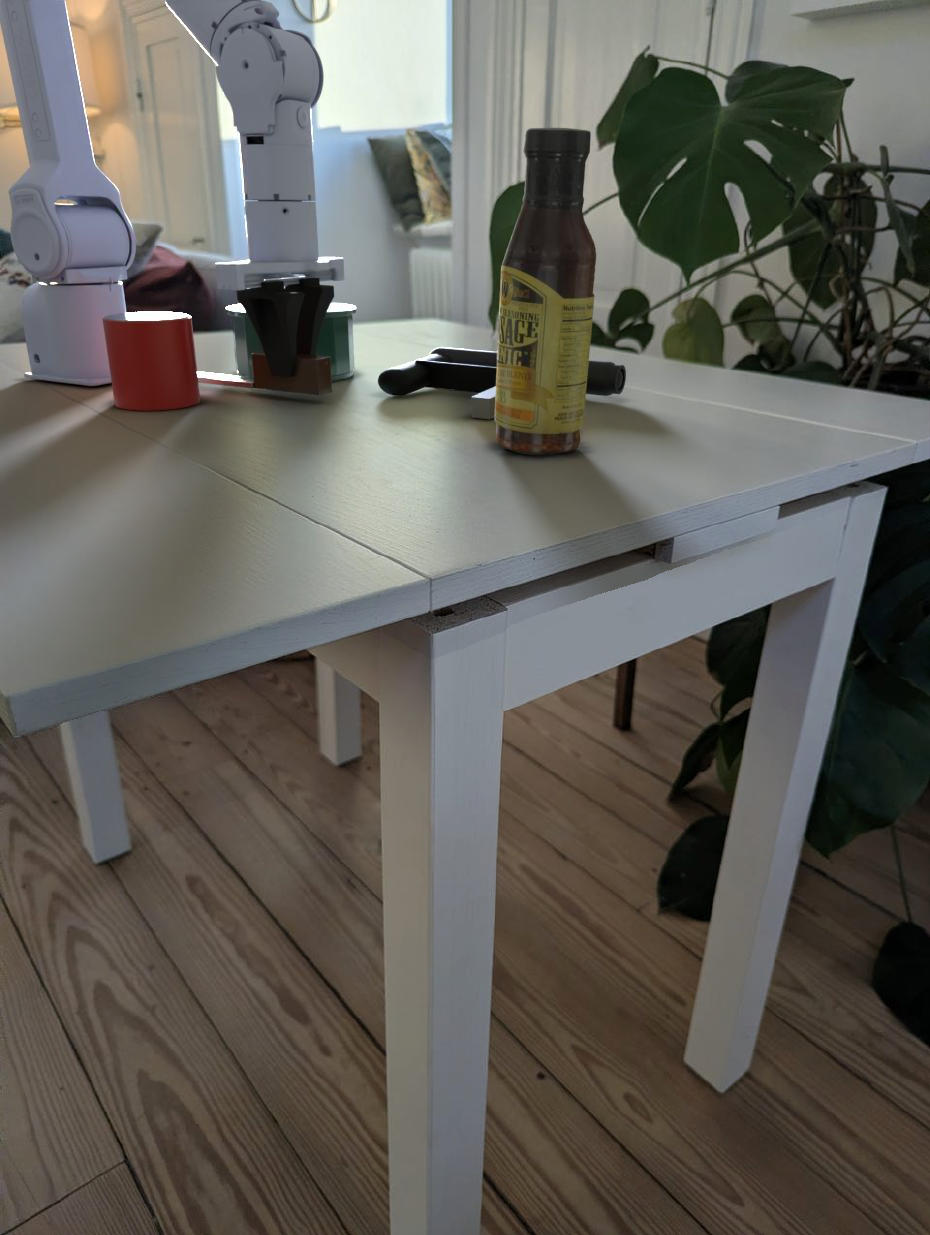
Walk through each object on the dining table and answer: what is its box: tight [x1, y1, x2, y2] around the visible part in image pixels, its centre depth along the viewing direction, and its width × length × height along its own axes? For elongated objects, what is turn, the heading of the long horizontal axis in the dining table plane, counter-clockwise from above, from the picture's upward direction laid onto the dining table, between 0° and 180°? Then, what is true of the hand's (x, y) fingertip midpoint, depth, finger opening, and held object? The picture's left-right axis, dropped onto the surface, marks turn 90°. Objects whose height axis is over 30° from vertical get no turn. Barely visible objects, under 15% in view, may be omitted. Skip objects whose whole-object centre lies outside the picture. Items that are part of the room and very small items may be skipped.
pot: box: [230, 314, 355, 382], centre depth 91 cm, size 12×12×6 cm
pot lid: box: [225, 301, 357, 318], centre depth 89 cm, size 13×13×3 cm
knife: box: [197, 351, 333, 396], centre depth 81 cm, size 16×2×3 cm, turn 63°
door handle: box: [377, 346, 627, 420], centre depth 80 cm, size 3×20×16 cm
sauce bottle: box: [494, 127, 597, 456], centre depth 60 cm, size 6×6×20 cm
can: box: [102, 311, 201, 412], centre depth 76 cm, size 7×7×7 cm
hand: (291, 373), depth 79 cm, fingers closed on knife, 2 cm apart
